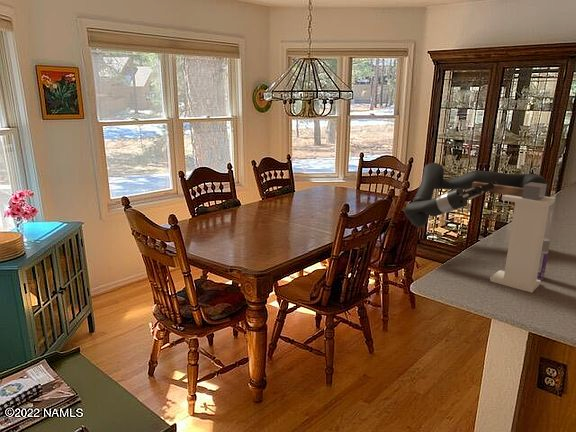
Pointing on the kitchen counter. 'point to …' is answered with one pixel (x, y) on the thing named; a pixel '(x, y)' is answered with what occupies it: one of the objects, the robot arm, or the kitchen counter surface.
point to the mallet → (518, 190)
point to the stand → (524, 243)
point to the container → (543, 259)
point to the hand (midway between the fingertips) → (494, 184)
